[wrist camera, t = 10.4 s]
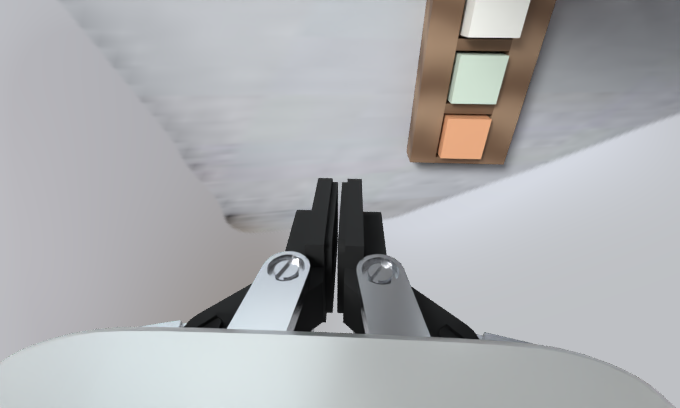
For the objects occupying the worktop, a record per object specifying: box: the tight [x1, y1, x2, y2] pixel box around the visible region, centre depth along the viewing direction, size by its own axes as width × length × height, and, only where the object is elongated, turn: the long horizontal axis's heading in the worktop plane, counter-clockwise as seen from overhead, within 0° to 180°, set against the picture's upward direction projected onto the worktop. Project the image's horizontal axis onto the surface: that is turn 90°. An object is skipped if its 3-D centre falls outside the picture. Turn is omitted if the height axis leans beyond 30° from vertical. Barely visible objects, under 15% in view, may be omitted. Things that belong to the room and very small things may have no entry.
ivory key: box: [459, 0, 530, 38], centre depth 28 cm, size 5×5×3 cm
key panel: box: [407, 0, 556, 164], centre depth 33 cm, size 19×11×3 cm, turn 0°
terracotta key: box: [437, 113, 492, 159], centre depth 36 cm, size 5×5×3 cm
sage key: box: [447, 51, 509, 104], centre depth 32 cm, size 5×5×3 cm
